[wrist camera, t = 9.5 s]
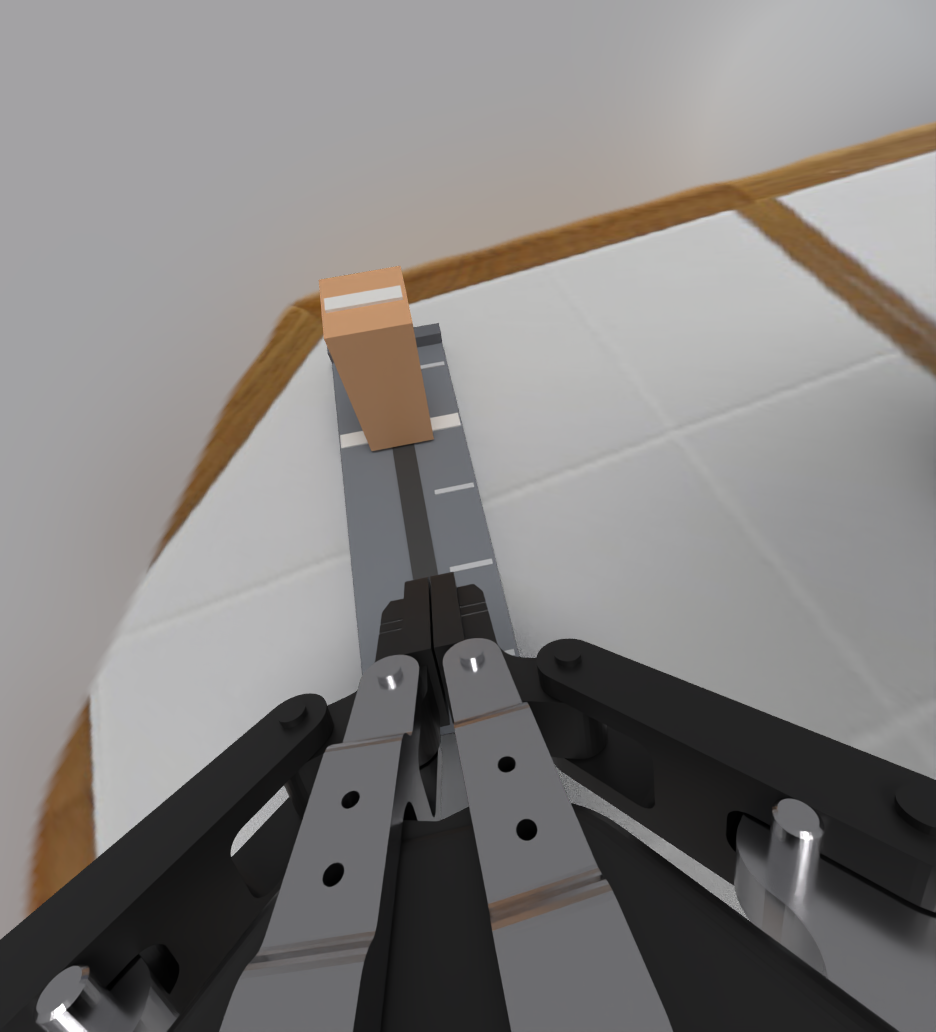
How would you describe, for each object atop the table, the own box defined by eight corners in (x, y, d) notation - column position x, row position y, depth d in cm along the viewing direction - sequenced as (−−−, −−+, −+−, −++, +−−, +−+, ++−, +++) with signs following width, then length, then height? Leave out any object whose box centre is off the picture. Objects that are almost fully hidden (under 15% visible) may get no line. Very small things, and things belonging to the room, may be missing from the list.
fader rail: (337, 367, 33) (326, 343, 31) (441, 348, 34) (438, 323, 32) (376, 749, 22) (365, 752, 20) (530, 714, 23) (535, 713, 21)
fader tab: (364, 402, 30) (317, 276, 21) (423, 391, 30) (399, 262, 22) (371, 451, 28) (322, 335, 20) (433, 439, 28) (412, 320, 20)
